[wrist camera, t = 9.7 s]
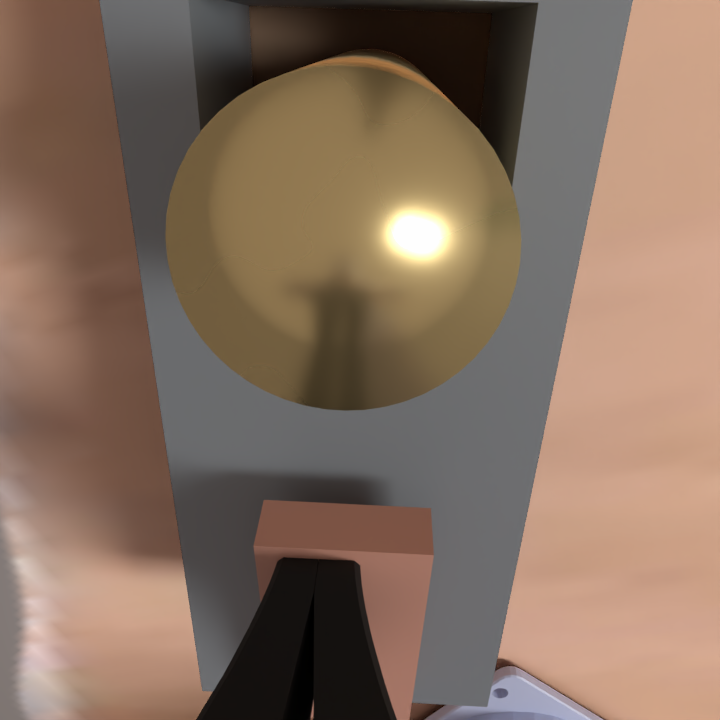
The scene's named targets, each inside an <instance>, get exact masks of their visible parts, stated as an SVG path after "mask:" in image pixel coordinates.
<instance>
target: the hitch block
mask: <svg viewBox="0 0 720 720" xmlns="http://www.w3.org/2000/svg"><path fill="white" fill-rule="evenodd" d="M99 2H100V8H101V15H102V22H103V28H104V35H105V42H106V49H107V55H108V62H109V69H110V75H111V82H112V89H113V95H114V102H115V109H116V116H117V122H118V129H119V136H120V142H121V149H122V156H123V162H124V169H125V176H126V183H127V189H128V196H129V203H130V209H131V216H132V223H133V229H134V236H135V243H136V250H137V256H138V263H139V270H140V276H141V283H142V290H143V296H144V303H145V310H146V317H147V323H148V330H149V337H150V343H151V350H152V357H153V363H154V370H155V377H156V384H157V390H158V397H159V404H160V410H161V417H162V424H163V430H164V437H165V444H166V451H167V457H168V464H169V471H170V477H171V484H172V491H173V497H174V504H175V511H176V518H177V524H178V531H179V538H180V544H181V551H182V558H183V564H184V571H185V578H186V585H187V591H188V598H189V605H190V611H191V618H192V625H193V631H194V638H195V645H196V652H197V658H198V665H199V672H200V678H201V685H202V691H214V689H215V688H216V686H217V684H218V683H219V681H220V679H221V678H222V676H223V674H224V672H225V671H226V669H227V667H228V665H229V664H230V662H231V660H232V658H233V656H234V654H235V652H236V650H237V648H238V647H239V645H240V643H241V641H242V639H243V637H244V635H245V633H246V632H247V630H248V628H249V626H250V624H251V622H252V620H253V618H254V615H255V613H256V611H257V609H258V607H259V605H260V603H261V602H260V594H259V586H258V578H257V570H256V562H255V554H254V541H255V537H256V532H257V528H258V524H259V519H260V515H261V510H262V506H263V501H264V500H278V501H298V502H318V503H338V504H358V505H379V506H399V507H419V508H431V518H432V534H433V549H434V558H433V565H432V571H431V578H430V585H429V591H428V598H427V605H426V611H425V618H424V625H423V632H422V638H421V645H420V652H419V658H418V665H417V672H416V679H415V685H414V692H413V699H412V703H424V704H442V705H459V706H477V707H487V706H488V701H489V697H490V692H491V687H492V682H493V677H494V672H495V667H496V663H497V658H498V653H499V648H500V643H501V638H502V633H503V629H504V624H505V619H506V614H507V609H508V604H509V599H510V594H511V590H512V585H513V580H514V575H515V570H516V565H517V560H518V556H519V551H520V546H521V541H522V536H523V531H524V526H525V522H526V517H527V512H528V507H529V502H530V497H531V492H532V488H533V483H534V478H535V473H536V468H537V463H538V458H539V454H540V449H541V444H542V439H543V434H544V429H545V424H546V420H547V415H548V410H549V405H550V400H551V395H552V390H553V386H554V381H555V376H556V371H557V366H558V361H559V356H560V351H561V347H562V342H563V337H564V332H565V327H566V322H567V317H568V313H569V308H570V303H571V298H572V293H573V288H574V283H575V279H576V274H577V269H578V264H579V259H580V254H581V249H582V245H583V240H584V235H585V230H586V225H587V220H588V215H589V211H590V206H591V201H592V196H593V191H594V186H595V181H596V177H597V172H598V167H599V162H600V157H601V152H602V147H603V143H604V138H605V133H606V128H607V123H608V118H609V113H610V108H611V104H612V99H613V94H614V89H615V84H616V79H617V74H618V70H619V65H620V60H621V55H622V50H623V45H624V40H625V36H626V31H627V26H628V21H629V16H630V11H631V6H632V2H633V0H99ZM249 6H270V7H302V8H335V9H367V10H400V11H432V12H465V13H492V20H491V28H490V37H489V46H488V55H487V64H486V73H485V81H484V90H483V99H482V108H481V117H480V126H479V130H480V132H481V133H482V134H483V136H484V137H485V138H486V140H487V141H488V142H489V144H490V145H491V146H492V148H493V149H494V151H495V153H496V154H497V156H498V158H499V160H500V162H501V164H502V165H503V167H504V169H505V171H506V173H507V176H508V179H509V181H510V184H511V187H512V189H513V192H514V195H515V200H516V204H517V209H518V213H519V218H520V230H521V255H520V266H519V271H518V276H517V281H516V286H515V289H514V292H513V295H512V298H511V301H510V304H509V306H508V308H507V310H506V313H505V315H504V317H503V319H502V321H501V323H500V325H499V326H498V328H497V329H496V331H495V332H494V334H493V335H492V337H491V338H490V340H489V341H488V343H487V344H486V345H485V346H484V348H483V349H482V350H481V351H480V352H479V353H478V354H477V356H476V357H475V358H474V359H473V360H472V361H471V362H470V363H468V364H467V365H466V366H465V367H464V368H463V369H462V370H461V371H460V372H459V373H457V374H456V375H454V376H453V377H451V378H450V379H449V380H447V381H446V382H444V383H443V384H441V385H440V386H438V387H436V388H434V389H432V390H430V391H428V392H427V393H425V394H423V395H420V396H418V397H415V398H412V399H410V400H407V401H405V402H401V403H398V404H394V405H390V406H386V407H381V408H374V409H368V410H349V411H342V410H329V409H321V408H315V407H310V406H305V405H301V404H298V403H295V402H291V401H288V400H285V399H282V398H280V397H278V396H275V395H273V394H271V393H268V392H266V391H264V390H262V389H261V388H259V387H257V386H255V385H253V384H252V383H250V382H248V381H247V380H245V379H244V378H243V377H241V376H240V375H238V374H237V373H236V372H234V371H233V370H232V369H230V368H229V367H228V366H227V365H226V364H225V363H224V362H223V361H222V360H220V359H219V358H218V357H217V356H216V355H215V354H214V353H213V352H212V350H211V349H210V348H209V347H208V346H207V345H206V343H205V342H204V341H203V340H202V339H201V337H200V336H199V334H198V333H197V331H196V330H195V328H194V327H193V325H192V324H191V323H190V321H189V319H188V317H187V315H186V313H185V311H184V309H183V307H182V305H181V303H180V301H179V299H178V296H177V293H176V290H175V288H174V285H173V282H172V278H171V274H170V269H169V265H168V260H167V250H166V239H165V234H166V214H167V209H168V203H169V198H170V192H171V189H172V186H173V183H174V180H175V177H176V174H177V171H178V169H179V167H180V165H181V163H182V161H183V159H184V157H185V155H186V153H187V151H188V149H189V147H190V146H191V145H192V143H193V142H194V140H195V139H196V137H197V136H198V135H199V133H200V132H201V130H202V129H203V128H204V127H205V126H206V125H207V124H208V122H209V121H210V120H211V119H212V118H213V117H214V116H215V115H216V114H217V113H218V112H219V111H220V110H221V109H222V108H224V107H225V106H226V105H228V104H229V103H230V102H231V101H233V100H234V99H235V98H236V97H238V96H239V95H241V94H242V93H244V92H246V91H248V90H249V89H251V88H253V76H252V56H251V36H250V16H249Z"/></svg>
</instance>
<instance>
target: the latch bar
mask: <svg viewBox="0 0 720 720" xmlns="http://www.w3.org/2000/svg"><path fill="white" fill-rule="evenodd" d="M254 554H255V562H256V570H257V578H258V586H259V594H260V602H261V601H262V599H263V596H264V594H265V592H266V589H267V587H268V585H269V582H270V580H271V577H272V575H273V572H274V570H275V567H276V564H277V561H278V560H280V559H282V558H283V557H287V558H307V559H318V561H319V559H327V560H351V561H355V562H357V563H358V564H359V565H360V569H361V581H362V589H363V596H364V602H365V608H366V612H367V617H368V622H369V626H370V631H371V635H372V639H373V643H374V647H375V650H376V654H377V657H378V661H379V664H380V668H381V671H382V675H383V678H384V682H385V685H386V688H387V691H388V695H389V698H390V701H391V704H392V707H393V710H394V713H395V715H396V718H397V720H409V719H410V712H411V705H412V699H413V692H414V685H415V679H416V672H417V665H418V658H419V652H420V645H421V638H422V632H423V625H424V618H425V611H426V605H427V598H428V591H429V585H430V578H431V571H432V565H433V558H434V549H433V534H432V518H431V508H419V507H399V506H379V505H358V504H338V503H318V502H298V501H278V500H264V501H263V506H262V510H261V515H260V519H259V524H258V528H257V532H256V537H255V541H254ZM313 715H314V700H313V707H312V713H311V718H313Z"/></svg>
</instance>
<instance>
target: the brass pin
mask: <svg viewBox="0 0 720 720" xmlns="http://www.w3.org/2000/svg"><path fill="white" fill-rule="evenodd" d="M165 239H166V250H167V260H168V265H169V269H170V274H171V278H172V282H173V285H174V288H175V290H176V293H177V296H178V299H179V301H180V303H181V305H182V307H183V309H184V311H185V313H186V315H187V317H188V319H189V321H190V323H191V324H192V325H193V327H194V328H195V330H196V331H197V333H198V334H199V336H200V337H201V339H202V340H203V341H204V342H205V343H206V345H207V346H208V347H209V348H210V349H211V350H212V352H213V353H214V354H215V355H216V356H217V357H218V358H219V359H220V360H222V361H223V362H224V363H225V364H226V365H227V366H228V367H229V368H230V369H232V370H233V371H234V372H236V373H237V374H238V375H240V376H241V377H243V378H244V379H245V380H247V381H248V382H250V383H252V384H253V385H255V386H257V387H259V388H261V389H262V390H264V391H266V392H268V393H271V394H273V395H275V396H278V397H280V398H282V399H285V400H288V401H291V402H295V403H298V404H301V405H305V406H310V407H315V408H321V409H329V410H342V411H349V410H368V409H374V408H381V407H386V406H390V405H394V404H398V403H401V402H405V401H407V400H410V399H412V398H415V397H418V396H420V395H423V394H425V393H427V392H428V391H430V390H432V389H434V388H436V387H438V386H440V385H441V384H443V383H444V382H446V381H447V380H449V379H450V378H451V377H453V376H454V375H456V374H457V373H459V372H460V371H461V370H462V369H463V368H464V367H465V366H466V365H467V364H468V363H470V362H471V361H472V360H473V359H474V358H475V357H476V356H477V354H478V353H479V352H480V351H481V350H482V349H483V348H484V346H485V345H486V344H487V343H488V341H489V340H490V338H491V337H492V335H493V334H494V332H495V331H496V329H497V328H498V326H499V325H500V323H501V321H502V319H503V317H504V315H505V313H506V310H507V308H508V306H509V304H510V301H511V298H512V295H513V292H514V289H515V286H516V281H517V276H518V271H519V266H520V255H521V230H520V218H519V213H518V209H517V204H516V200H515V195H514V192H513V189H512V187H511V184H510V181H509V179H508V176H507V173H506V171H505V169H504V167H503V165H502V164H501V162H500V160H499V158H498V156H497V154H496V153H495V151H494V149H493V148H492V146H491V145H490V144H489V142H488V141H487V140H486V138H485V137H484V136H483V134H482V133H481V132H480V130H479V129H478V128H477V127H476V126H475V125H474V124H473V123H472V122H471V121H470V120H469V119H468V118H467V117H466V116H465V115H464V114H463V113H462V112H461V111H460V110H459V109H458V108H457V107H456V106H455V105H454V104H453V103H452V102H451V101H450V100H449V99H448V98H447V97H446V96H445V95H444V94H443V93H442V92H441V91H440V90H439V89H438V88H437V87H436V86H435V85H434V84H433V83H432V82H431V81H430V80H429V79H428V78H427V77H426V76H425V75H424V74H423V73H422V72H421V71H420V70H419V69H418V68H417V67H416V66H414V65H413V64H412V63H410V62H409V61H408V60H406V59H404V58H402V57H400V56H398V55H396V54H393V53H390V52H387V51H383V50H378V49H357V50H352V51H348V52H344V53H342V54H339V55H336V56H333V57H330V58H327V59H325V60H322V61H319V62H316V63H313V64H310V65H308V66H305V67H302V68H299V69H296V70H293V71H291V72H288V73H285V74H282V75H280V76H277V77H275V78H272V79H269V80H267V81H264V82H262V83H260V84H258V85H256V86H255V87H253V88H251V89H249V90H248V91H246V92H244V93H242V94H241V95H239V96H238V97H236V98H235V99H234V100H233V101H231V102H230V103H229V104H228V105H226V106H225V107H224V108H222V109H221V110H220V111H219V112H218V113H217V114H216V115H215V116H214V117H213V118H212V119H211V120H210V121H209V122H208V124H207V125H206V126H205V127H204V128H203V129H202V130H201V132H200V133H199V135H198V136H197V137H196V139H195V140H194V142H193V143H192V145H191V146H190V147H189V149H188V151H187V153H186V155H185V157H184V159H183V161H182V163H181V165H180V167H179V169H178V171H177V174H176V177H175V180H174V183H173V186H172V189H171V192H170V198H169V203H168V209H167V214H166V234H165Z"/></svg>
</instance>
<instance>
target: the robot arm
mask: <svg viewBox="0 0 720 720" xmlns="http://www.w3.org/2000/svg"><path fill="white" fill-rule="evenodd" d="M313 700H314V715H313V720H397V718H396V715H395V713H394V710H393V707H392V704H391V701H390V698H389V695H388V691H387V688H386V685H385V682H384V678H383V675H382V671H381V668H380V664H379V661H378V657H377V654H376V650H375V647H374V643H373V639H372V635H371V631H370V626H369V622H368V617H367V612H366V608H365V602H364V596H363V589H362V581H361V569H360V565H359V564H358V563H357V562H355V561H351V560H327V559H319V561H318V559H307V558H287V557H283V558H282V559H280V560H278V561H277V564H276V567H275V570H274V572H273V575H272V577H271V580H270V582H269V585H268V587H267V589H266V592H265V594H264V596H263V599H262V601H261V603H260V605H259V607H258V609H257V611H256V613H255V615H254V618H253V620H252V622H251V624H250V626H249V628H248V630H247V632H246V633H245V635H244V637H243V639H242V641H241V643H240V645H239V647H238V648H237V650H236V652H235V654H234V656H233V658H232V660H231V662H230V664H229V665H228V667H227V669H226V671H225V672H224V674H223V676H222V678H221V679H220V681H219V683H218V684H217V686H216V688H215V689H214V691H213V693H212V694H211V696H210V698H209V699H208V701H207V703H206V704H205V706H204V708H203V709H202V711H201V713H200V714H199V716H198V718H197V719H196V720H310V719H311V713H312V707H313ZM424 720H603V719H602V718H600V717H599V716H597V715H595V714H594V713H592V712H590V711H589V710H587V709H585V708H584V707H582V706H580V705H579V704H577V703H575V702H574V701H572V700H571V699H569V698H567V697H566V696H564V695H562V694H561V693H559V692H557V691H556V690H554V689H552V688H551V687H549V686H547V685H546V684H544V683H543V682H541V681H539V680H538V679H536V678H534V677H533V676H531V675H529V674H528V673H526V672H524V671H523V670H521V669H519V668H517V667H514V666H506V667H502V668H500V669H498V670H497V671H495V672H494V677H493V682H492V687H491V692H490V697H489V701H488V706H487V707H477V706H459V705H445V706H443V707H442V708H440V709H439V710H437V711H436V712H435V713H433V714H432V715H430V716H429V717H427V718H426V719H424Z"/></svg>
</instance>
